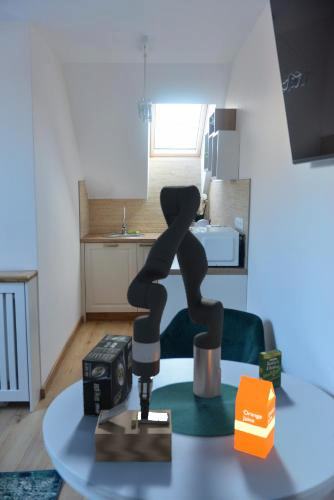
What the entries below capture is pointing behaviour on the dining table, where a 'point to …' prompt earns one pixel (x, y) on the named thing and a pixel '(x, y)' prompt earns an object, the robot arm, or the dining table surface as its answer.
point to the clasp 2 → (155, 418)
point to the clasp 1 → (113, 412)
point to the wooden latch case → (133, 439)
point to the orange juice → (254, 416)
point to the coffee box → (270, 367)
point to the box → (107, 374)
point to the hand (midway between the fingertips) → (144, 416)
